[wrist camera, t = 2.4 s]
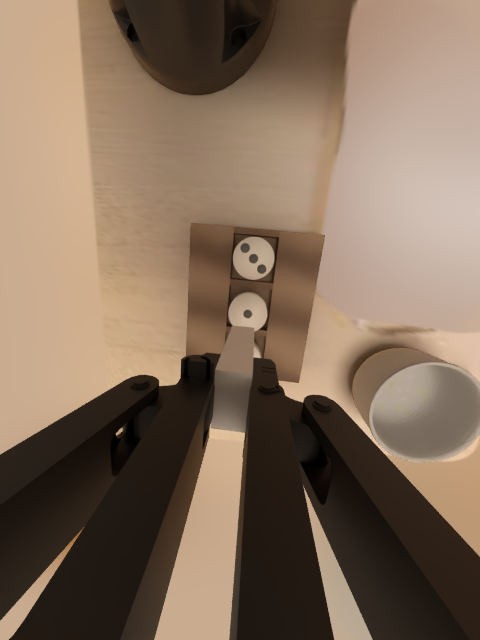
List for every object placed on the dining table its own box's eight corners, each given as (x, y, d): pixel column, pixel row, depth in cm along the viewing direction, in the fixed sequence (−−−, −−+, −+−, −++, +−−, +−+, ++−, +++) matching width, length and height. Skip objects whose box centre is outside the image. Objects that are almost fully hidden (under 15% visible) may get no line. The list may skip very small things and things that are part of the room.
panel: (197, 226, 27) (191, 223, 25) (318, 237, 26) (325, 235, 24) (191, 360, 31) (185, 369, 29) (295, 373, 31) (298, 382, 28)
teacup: (335, 407, 32) (359, 455, 24) (352, 332, 29) (386, 358, 21) (441, 420, 31) (502, 474, 23) (469, 344, 28) (549, 377, 20)
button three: (237, 237, 25) (234, 234, 22) (275, 240, 24) (277, 238, 22) (233, 275, 26) (231, 277, 23) (270, 279, 25) (271, 281, 23)
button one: (232, 289, 26) (229, 292, 23) (268, 292, 26) (269, 296, 23) (229, 323, 27) (226, 330, 24) (264, 327, 27) (264, 334, 24)
